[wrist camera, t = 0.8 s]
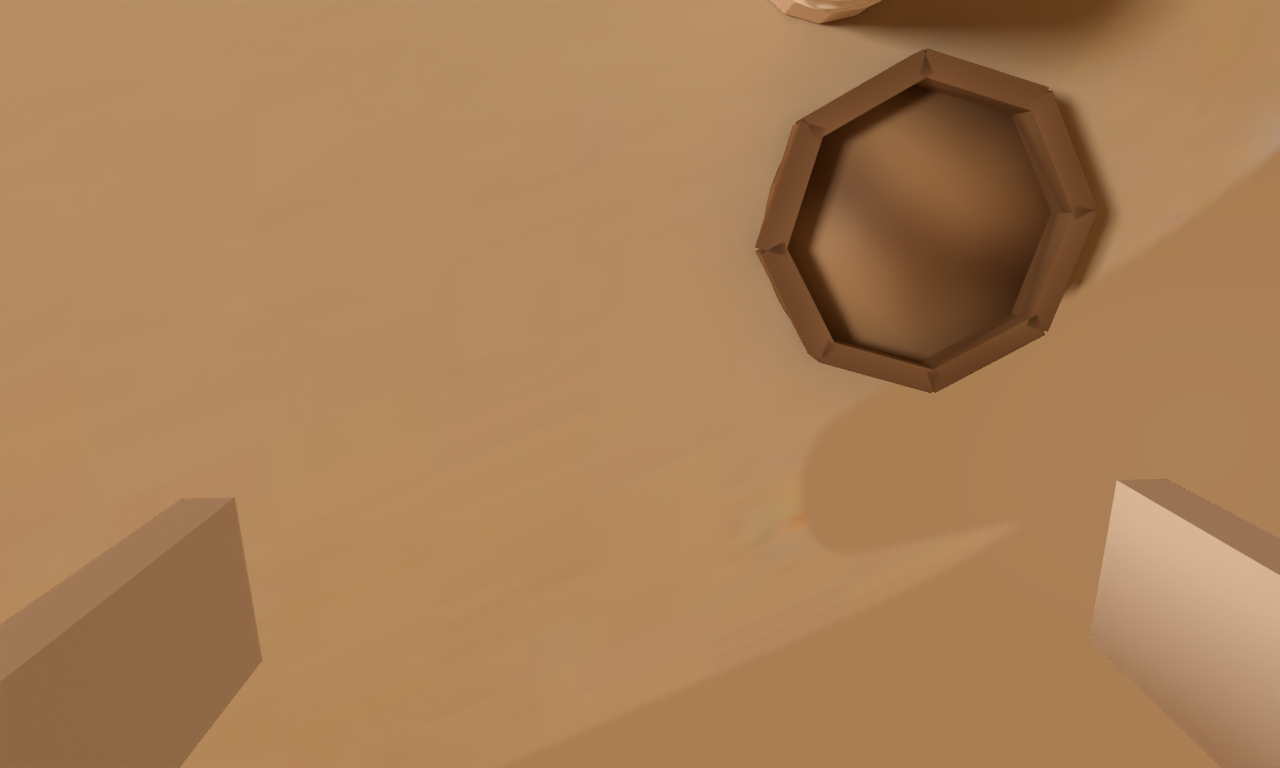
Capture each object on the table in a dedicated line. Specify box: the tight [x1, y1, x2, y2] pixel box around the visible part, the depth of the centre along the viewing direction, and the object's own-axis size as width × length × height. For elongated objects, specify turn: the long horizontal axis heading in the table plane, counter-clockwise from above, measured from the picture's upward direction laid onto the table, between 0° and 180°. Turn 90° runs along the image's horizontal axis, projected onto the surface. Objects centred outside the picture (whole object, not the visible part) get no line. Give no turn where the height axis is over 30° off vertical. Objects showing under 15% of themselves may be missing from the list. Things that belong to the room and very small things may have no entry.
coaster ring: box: [755, 49, 1098, 393], centre depth 31 cm, size 13×13×2 cm
